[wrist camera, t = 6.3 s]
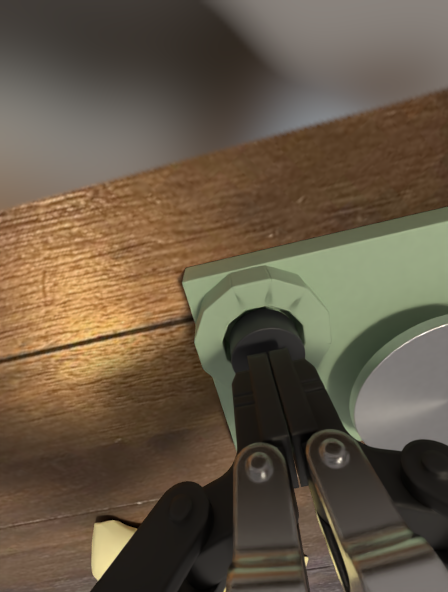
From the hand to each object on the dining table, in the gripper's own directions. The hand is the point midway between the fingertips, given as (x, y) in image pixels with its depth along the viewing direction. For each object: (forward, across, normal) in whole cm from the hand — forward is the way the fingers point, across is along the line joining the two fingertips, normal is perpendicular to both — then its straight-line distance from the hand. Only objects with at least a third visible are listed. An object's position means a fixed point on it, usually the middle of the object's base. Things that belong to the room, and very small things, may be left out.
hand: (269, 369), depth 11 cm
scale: (+5, -5, +4) cm, 8 cm away
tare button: (+2, 0, 0) cm, 2 cm away
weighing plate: (+2, -8, +5) cm, 10 cm away
